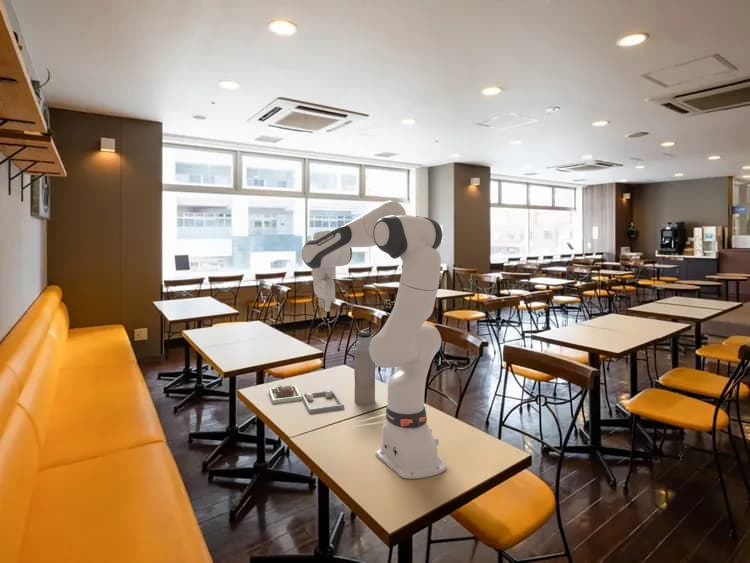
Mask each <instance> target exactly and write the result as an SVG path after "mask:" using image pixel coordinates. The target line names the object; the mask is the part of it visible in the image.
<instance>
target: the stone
mask: <svg viewBox="0 0 750 563" xmlns="http://www.w3.org/2000/svg"><path fill="white" fill-rule="evenodd" d="M290 385H291V384H289V383H288V382H286V383H281V384H279V386H278V387H280V391H287V390H290Z"/></svg>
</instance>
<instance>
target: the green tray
mask: <svg viewBox="0 0 750 563" xmlns="http://www.w3.org/2000/svg"><path fill="white" fill-rule="evenodd" d="M291 386H292V388H293V390H294V392H295V394H296V395H294V397H287V398H279V399H278V398H275V397H274V395H277V394H276V387H272V388H271V387H270V388H268V394H269V397H270V400H271V401H272V402H271V403H272V404H280V403H287V402H288V403H290V402H296V401H302V395H301V393H300V391H299V389H298V387H297V385H291Z"/></svg>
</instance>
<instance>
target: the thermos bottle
mask: <svg viewBox="0 0 750 563" xmlns="http://www.w3.org/2000/svg"><path fill="white" fill-rule="evenodd" d="M357 335H358V337H357V338H358V339H357V341H356V342H355V347H354V352H353V353H354V354H353V355H354V357H353V358H354V359H353V360H354V361H353V362H354V366H353V367H354V372H353V374H354V403H355V404H356V405H357V406H358V405H359V406H370V405H373V404H375V402H376V364H375V363H374V362H373V360H372V358H371V356H370V351H369V347H370V342H371V340H372V333H370V332H360V333H358V334H357Z"/></svg>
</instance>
